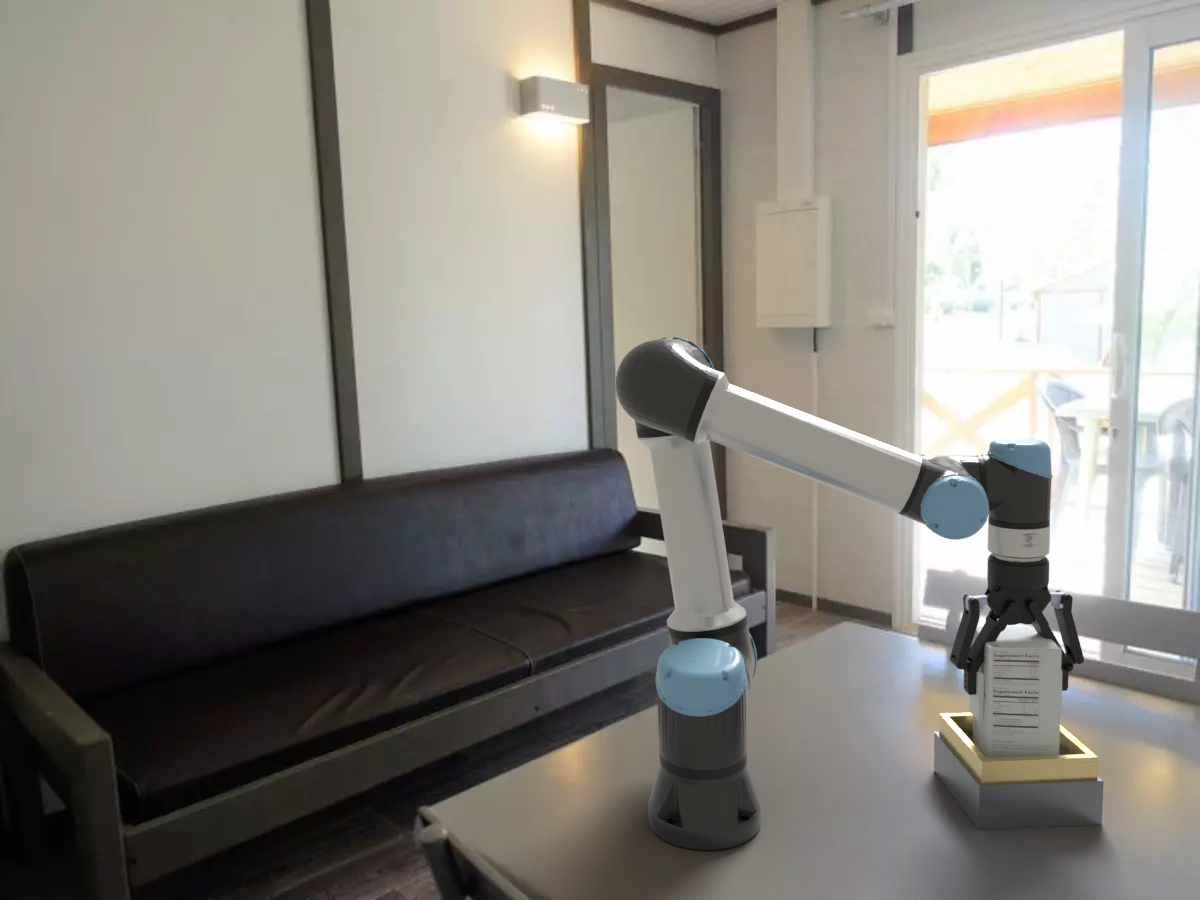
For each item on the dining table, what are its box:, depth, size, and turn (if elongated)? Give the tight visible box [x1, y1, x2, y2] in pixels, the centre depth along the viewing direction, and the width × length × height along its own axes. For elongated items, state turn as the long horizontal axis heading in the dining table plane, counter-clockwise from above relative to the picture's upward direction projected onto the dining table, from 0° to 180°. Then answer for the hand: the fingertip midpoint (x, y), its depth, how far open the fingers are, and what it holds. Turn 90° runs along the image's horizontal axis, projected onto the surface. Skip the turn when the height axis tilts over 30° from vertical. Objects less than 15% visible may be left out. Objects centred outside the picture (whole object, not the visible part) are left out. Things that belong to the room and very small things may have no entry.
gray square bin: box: [933, 711, 1104, 830], centre depth 129 cm, size 16×16×9 cm
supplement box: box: [973, 626, 1063, 758], centre depth 127 cm, size 10×9×17 cm
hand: (1015, 714), depth 128 cm, fingers closed on supplement box, 10 cm apart
